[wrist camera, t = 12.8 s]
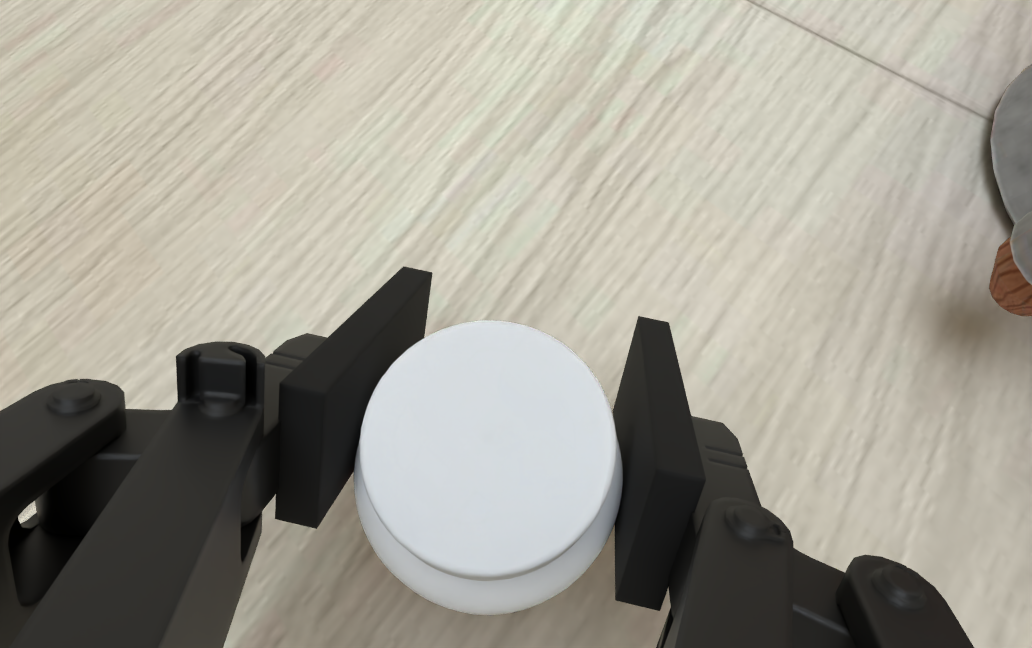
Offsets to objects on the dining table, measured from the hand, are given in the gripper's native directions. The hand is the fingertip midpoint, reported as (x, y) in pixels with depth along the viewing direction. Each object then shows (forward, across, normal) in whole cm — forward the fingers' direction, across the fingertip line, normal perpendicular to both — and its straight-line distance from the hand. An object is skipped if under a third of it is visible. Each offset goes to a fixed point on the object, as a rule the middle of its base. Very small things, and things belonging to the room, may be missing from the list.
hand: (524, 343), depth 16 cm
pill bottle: (0, 0, -5) cm, 5 cm away
